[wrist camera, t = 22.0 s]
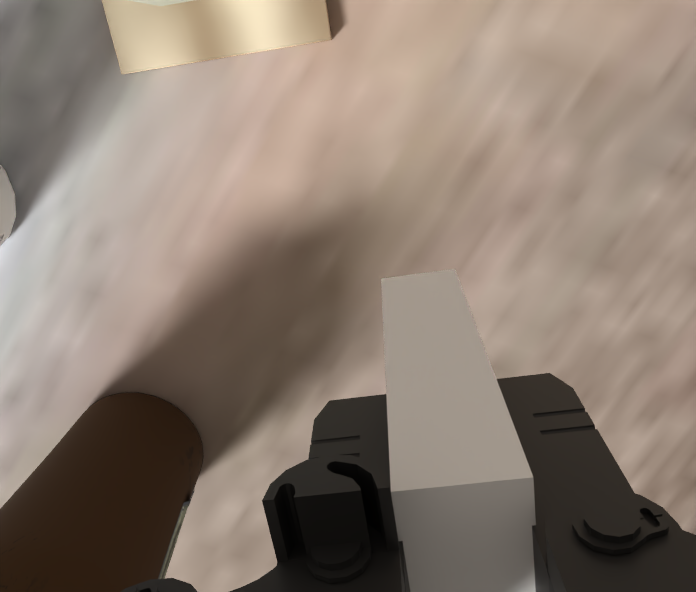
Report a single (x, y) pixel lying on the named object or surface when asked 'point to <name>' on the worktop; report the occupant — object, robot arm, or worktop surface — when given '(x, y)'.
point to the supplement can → (6, 206)
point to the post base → (210, 29)
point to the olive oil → (103, 501)
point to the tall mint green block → (160, 2)
